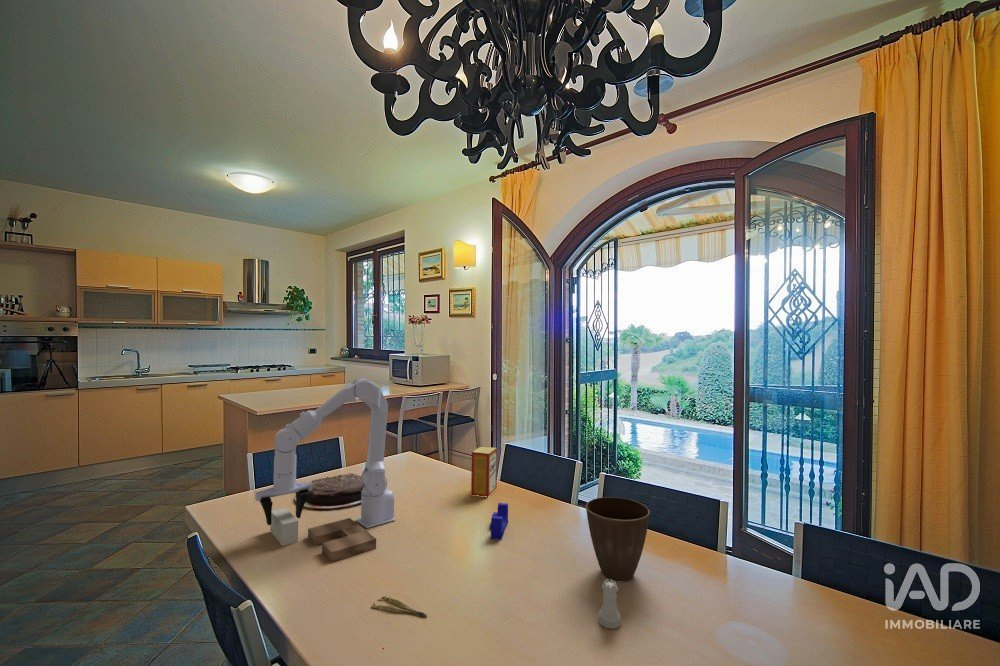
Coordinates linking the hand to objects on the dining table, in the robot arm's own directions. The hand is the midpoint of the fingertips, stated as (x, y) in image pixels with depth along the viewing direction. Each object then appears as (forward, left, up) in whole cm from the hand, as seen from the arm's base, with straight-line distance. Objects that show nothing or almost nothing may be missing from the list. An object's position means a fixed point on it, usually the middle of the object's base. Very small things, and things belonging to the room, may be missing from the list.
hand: (283, 520), depth 125 cm
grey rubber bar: (0, 0, -5) cm, 5 cm away
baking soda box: (-67, +7, -5) cm, 68 cm away
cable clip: (-50, +35, -5) cm, 61 cm away
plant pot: (-56, +72, -5) cm, 91 cm away
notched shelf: (-11, +14, -5) cm, 18 cm away
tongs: (-9, +51, -5) cm, 53 cm away
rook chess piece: (-39, +82, -5) cm, 91 cm away
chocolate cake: (-24, -23, -5) cm, 34 cm away
